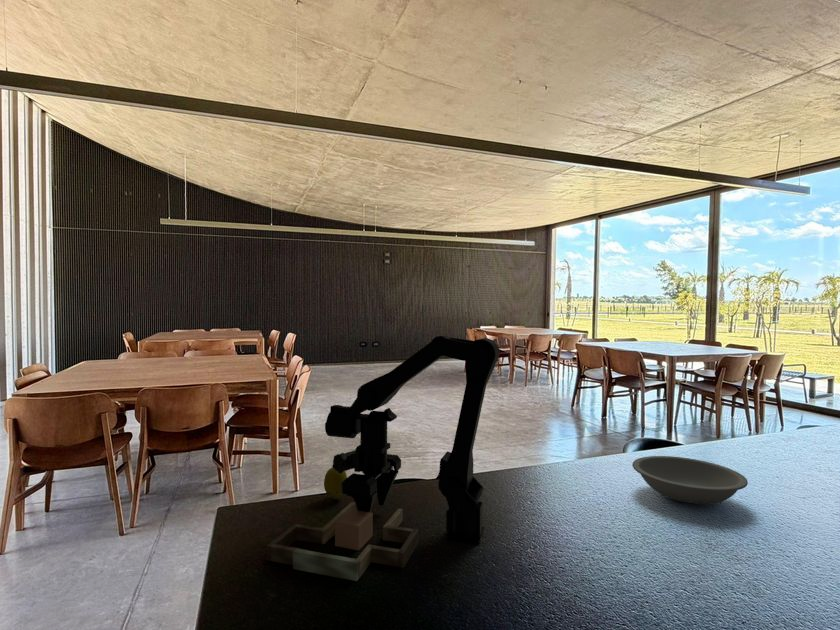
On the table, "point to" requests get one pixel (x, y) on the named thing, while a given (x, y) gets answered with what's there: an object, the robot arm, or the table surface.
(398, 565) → the box
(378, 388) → the robot arm
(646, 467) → the soup bowl
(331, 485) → the lemon
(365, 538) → the block
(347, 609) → the table surface
